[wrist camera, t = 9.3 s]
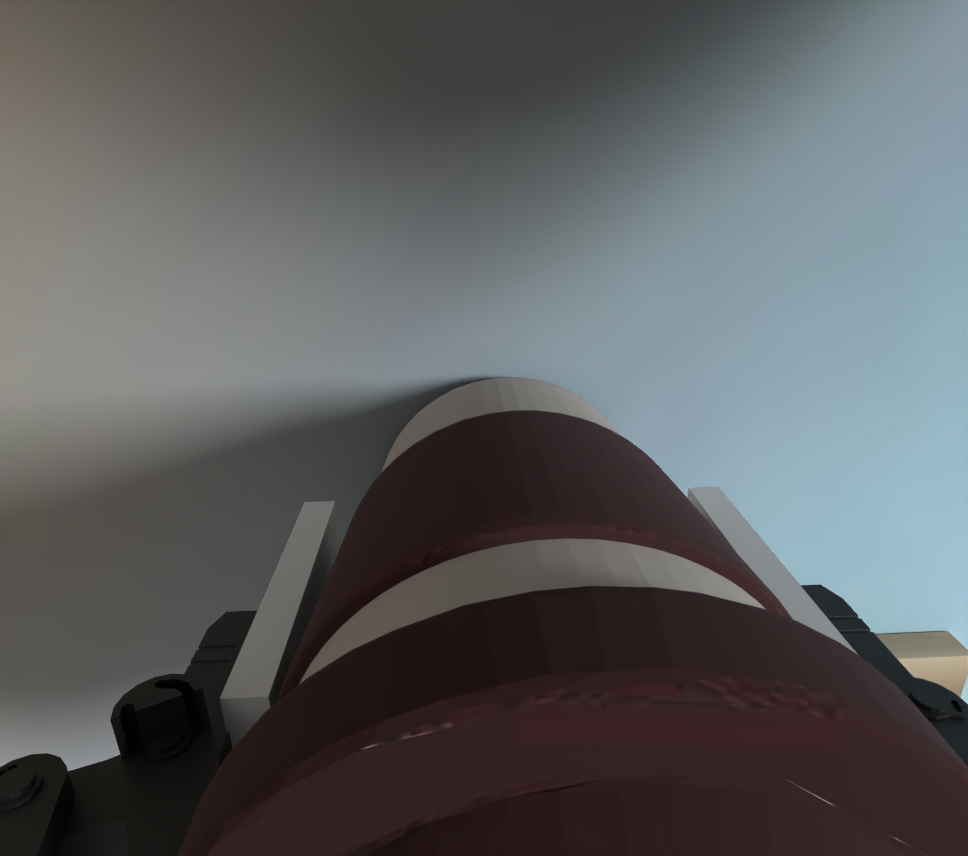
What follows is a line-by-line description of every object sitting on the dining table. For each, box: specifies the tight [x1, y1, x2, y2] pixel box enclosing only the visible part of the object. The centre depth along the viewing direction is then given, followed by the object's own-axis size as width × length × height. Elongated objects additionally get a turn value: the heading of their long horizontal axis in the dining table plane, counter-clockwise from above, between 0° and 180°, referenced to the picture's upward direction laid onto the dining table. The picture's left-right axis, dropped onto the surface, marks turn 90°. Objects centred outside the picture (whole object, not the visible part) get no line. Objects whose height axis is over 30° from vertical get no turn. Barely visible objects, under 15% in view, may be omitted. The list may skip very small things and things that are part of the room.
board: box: [876, 631, 968, 697], centre depth 25 cm, size 18×16×1 cm
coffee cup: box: [178, 377, 968, 856], centre depth 13 cm, size 10×10×15 cm
